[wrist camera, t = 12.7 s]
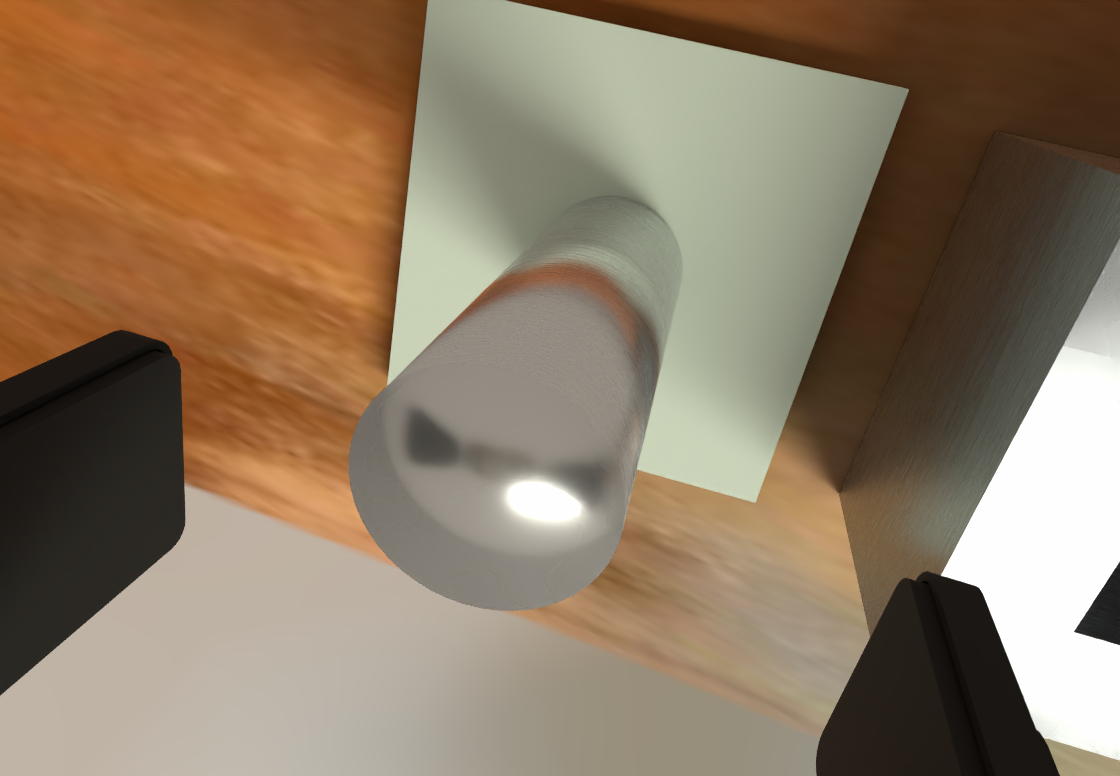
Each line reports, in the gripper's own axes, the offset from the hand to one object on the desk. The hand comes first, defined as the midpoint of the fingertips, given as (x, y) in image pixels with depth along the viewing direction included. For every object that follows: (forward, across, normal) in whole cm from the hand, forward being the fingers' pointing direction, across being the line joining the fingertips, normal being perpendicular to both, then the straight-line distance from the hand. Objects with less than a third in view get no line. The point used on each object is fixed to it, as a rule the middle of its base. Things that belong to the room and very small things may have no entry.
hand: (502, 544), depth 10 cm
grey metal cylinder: (+13, +1, 0) cm, 13 cm away
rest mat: (+14, +1, 0) cm, 14 cm away
